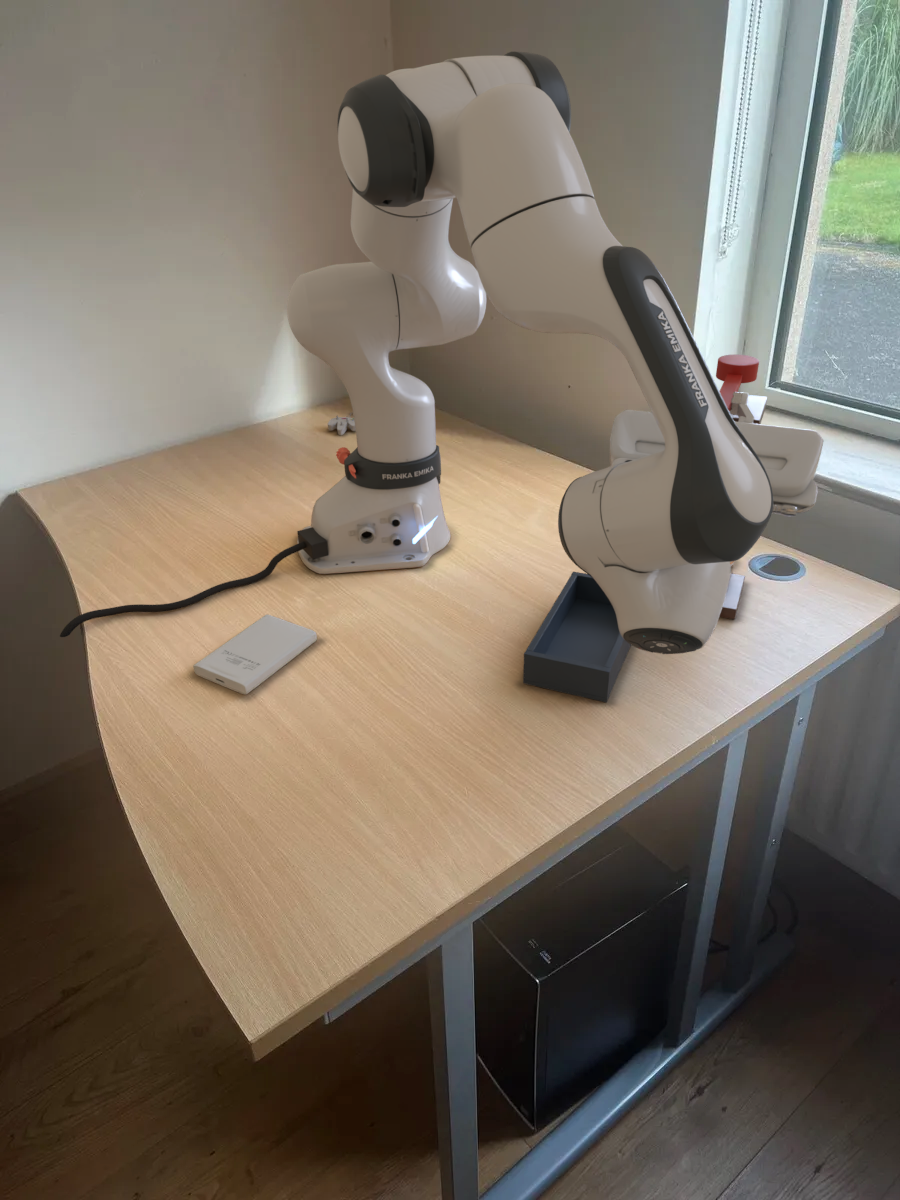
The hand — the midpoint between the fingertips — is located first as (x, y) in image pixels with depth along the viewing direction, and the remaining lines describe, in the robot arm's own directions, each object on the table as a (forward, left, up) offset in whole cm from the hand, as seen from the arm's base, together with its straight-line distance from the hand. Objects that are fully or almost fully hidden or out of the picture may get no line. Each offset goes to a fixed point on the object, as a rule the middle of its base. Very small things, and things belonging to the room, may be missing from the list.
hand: (725, 394), depth 89 cm
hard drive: (-51, +13, -30) cm, 60 cm away
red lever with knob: (+2, +3, -1) cm, 4 cm away
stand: (+6, +8, -30) cm, 31 cm away
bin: (-13, +2, -30) cm, 32 cm away
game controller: (-25, +88, -30) cm, 96 cm away
